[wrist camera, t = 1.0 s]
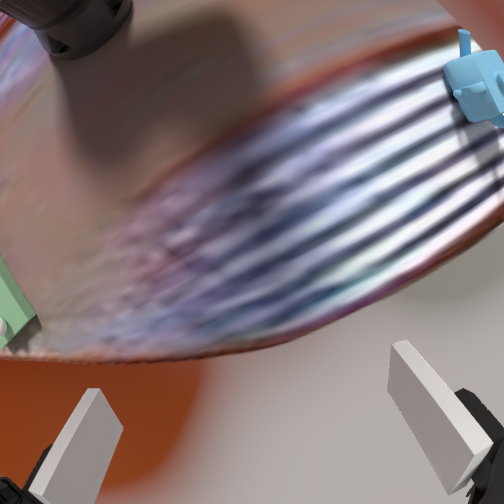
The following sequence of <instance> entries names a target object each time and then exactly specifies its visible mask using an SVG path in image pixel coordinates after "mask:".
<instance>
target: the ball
mask: <svg viewBox="0 0 504 504" xmlns="http://www.w3.org/2000/svg"><path fill="white" fill-rule="evenodd" d="M6 331H7V325H6V322H5V320H4V319H3V318H2V317H0V337H1V336H3V335H4V334H5V333H6Z"/></svg>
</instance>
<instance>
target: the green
mask: <svg viewBox="0 0 504 504" xmlns="http://www.w3.org/2000/svg"><path fill="white" fill-rule="evenodd" d="M35 315H36V313H35V311H34V310H33V308H32V307H31V305H30V304H29V302H28V301H27V299H26V298H25V296H24V294H23V293H22V291H21V290H20V288H19V286H18V285H17V283H16V282H15V280H14V278H13V276H12V275H11V273H10V271H9V270H8V268H7V266H6V264H5V262H4V261H3V259H2V257H1V255H0V317H2V318H3V319H4V320H5V322H6V325H7V331H6V333H5V334H4V335H3V336H1V337H0V349H2V348H4V347H5V346H6V345H7V344H8V343H9V342H10V341H11V340H12V339H13V338H14V337H15V336H16V335H17V334H18V332H19V331H20V330H21V329H22V328H23V327H24V326H25V325H26V324H27V323H28V322H29V321H30V320H31V319H32V318H33V317H34V316H35Z"/></svg>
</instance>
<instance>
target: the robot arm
mask: <svg viewBox="0 0 504 504" xmlns="http://www.w3.org/2000/svg"><path fill="white" fill-rule="evenodd" d="M130 7H131V0H0V11H1V12H3V13H4V14H6V15H8V16H10V17H12V18H14V19H15V20H17V21H19V22H21V23H23V24H24V25H26V26H28V27H30V28H31V29H33V30H34V32H35V33H36V35H37V37H38V39H39V41H40V42H41V44H42V46H43V48H44V49H45V50H46V51H47V52H48V53H49V54H51V55H53V56H55V57H57V58H59V59H63V60H70V59H76V58H79V57H82V56H84V55H87V54H89V53H91V52H92V51H94V50H96V49H97V48H99V47H100V46H101V45H103V44H104V43H105V42H106V41H108V40H109V39H110V38H111V37H112V36H113V35H114V34H115V33H116V32H117V30H118V29H119V28H120V27H121V25H122V24H123V22H124V21H125V19H126V17H127V15H128V13H129V10H130ZM388 392H389V394H390V395H391V397H392V398H393V400H394V402H395V403H396V405H397V407H398V408H399V410H400V411H401V413H402V415H403V417H404V418H405V420H406V422H407V423H408V425H409V427H410V429H411V430H412V432H413V433H414V435H415V437H416V439H417V441H418V442H419V444H420V446H421V447H422V449H423V451H424V453H425V454H426V456H427V458H428V459H429V462H430V463H431V465H432V467H433V469H434V470H435V472H436V474H437V476H438V478H439V479H440V481H441V483H442V485H443V487H444V489H445V491H446V493H447V494H448V496H449V495H450V494H452V493H454V492H456V491H458V490H459V489H461V488H463V487H465V486H466V485H467V483H468V482H469V481H470V479H471V478H472V480H473V482H474V485H473V486H472V488H471V489H470V490H469V491H468V493H467V495H466V497H468V496H469V495H470V494H471V495H470V499H469V502H468V504H504V428H503V426H502V425H501V424H500V423H499V422H498V420H497V419H496V418H495V417H494V416H493V415H492V413H491V412H490V411H489V410H487V408H486V407H485V405H484V404H482V403H481V401H480V400H479V399H478V397H477V396H476V395H475V394H474V393H472V392H470V391H468V390H466V389H464V388H463V389H461V390H459V391H457V392H455V393H453V392H452V391H451V390H450V388H449V387H448V386H447V385H446V384H445V382H444V381H443V380H442V379H441V378H440V377H439V375H438V374H437V373H436V372H435V371H434V370H433V369H432V367H431V366H430V365H429V364H428V363H427V362H426V361H425V359H424V358H423V357H422V356H421V355H420V354H419V353H418V352H417V351H416V349H414V347H413V346H412V345H411V344H410V343H409V342H408V341H407V340H406V339H405V340H402V341H399V342H396V343H393V344H391V355H390V369H389V380H388ZM122 430H123V427H122V425H121V424H120V422H119V420H118V419H117V417H116V416H115V414H114V412H113V410H112V409H111V407H110V405H109V404H108V402H107V400H106V398H105V397H104V395H103V393H102V391H101V389H90V388H88V389H87V391H86V392H85V394H84V395H83V397H82V398H81V400H80V402H79V403H78V405H77V407H76V408H75V409H74V411H73V413H72V414H71V416H70V418H69V419H68V421H67V423H66V424H65V426H64V428H63V429H62V431H61V433H60V434H59V436H58V438H57V439H56V441H55V443H54V444H51V445H50V446H49V447H47V448H46V449H45V450H44V451H43V453H42V455H41V457H40V458H39V460H38V462H37V463H36V467H34V469H33V471H32V472H31V474H30V476H29V478H28V480H27V482H26V483H25V485H24V487H23V488H22V490H21V489H20V488H19V487H17V485H15V484H14V482H12V481H11V480H10V479H9V478H8V477H0V504H94V503H95V500H96V498H97V495H98V492H99V489H100V487H101V484H102V481H103V479H104V476H105V474H106V471H107V468H108V466H109V463H110V461H111V458H112V455H113V453H114V450H115V448H116V445H117V443H118V441H119V438H120V436H121V433H122Z"/></svg>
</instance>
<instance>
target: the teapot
mask: <svg viewBox="0 0 504 504" xmlns="http://www.w3.org/2000/svg"><path fill="white" fill-rule="evenodd" d="M458 32H459V45H460V58H457V59H455V60H452V61H450V62H448V63H447V64H445V65H444V67H443V70H444V73H445V76H444V78H445V81H446V82H447V84H449V85H450V86H451V88H452V90H453V95H454V97H455V98H456V99H457V100H458V102H459V109H460V111H461V112H462V113H463V114H465V116H466V117H467V119H468V120H469V121H470V122H480V121H484V120H488V119H489V120H490V122H491V123H493V124H494V125H495V126H497V127H500V128H504V116H503V115H502V114H503V113H504V63H503V62H502V60H501V58H500V56H499V55H498V53H497V52H496V50H489V51H483V52H478V53H473V54H471V43H470V32H468V31H466V30H461V29H460V30H458Z"/></svg>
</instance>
